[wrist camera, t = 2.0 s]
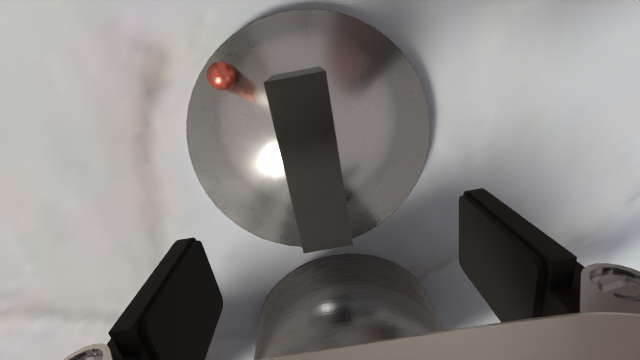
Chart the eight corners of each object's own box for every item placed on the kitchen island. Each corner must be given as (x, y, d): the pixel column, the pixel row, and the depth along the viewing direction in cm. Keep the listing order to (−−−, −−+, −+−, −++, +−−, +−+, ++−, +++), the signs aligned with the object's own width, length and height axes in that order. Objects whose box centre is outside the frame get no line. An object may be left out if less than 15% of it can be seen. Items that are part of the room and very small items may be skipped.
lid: (155, 38, 19) (90, 32, 13) (418, -12, 18) (470, -41, 13) (231, 253, 25) (210, 312, 20) (427, 219, 25) (464, 268, 19)
